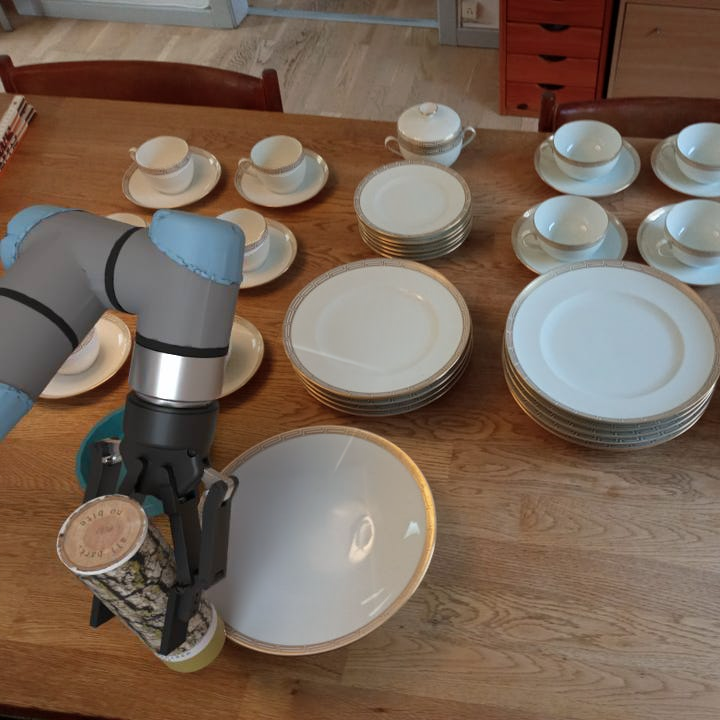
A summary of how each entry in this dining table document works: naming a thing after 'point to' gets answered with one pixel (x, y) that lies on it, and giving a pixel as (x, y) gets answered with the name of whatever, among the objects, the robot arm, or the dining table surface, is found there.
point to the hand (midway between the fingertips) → (137, 633)
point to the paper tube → (135, 576)
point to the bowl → (110, 428)
